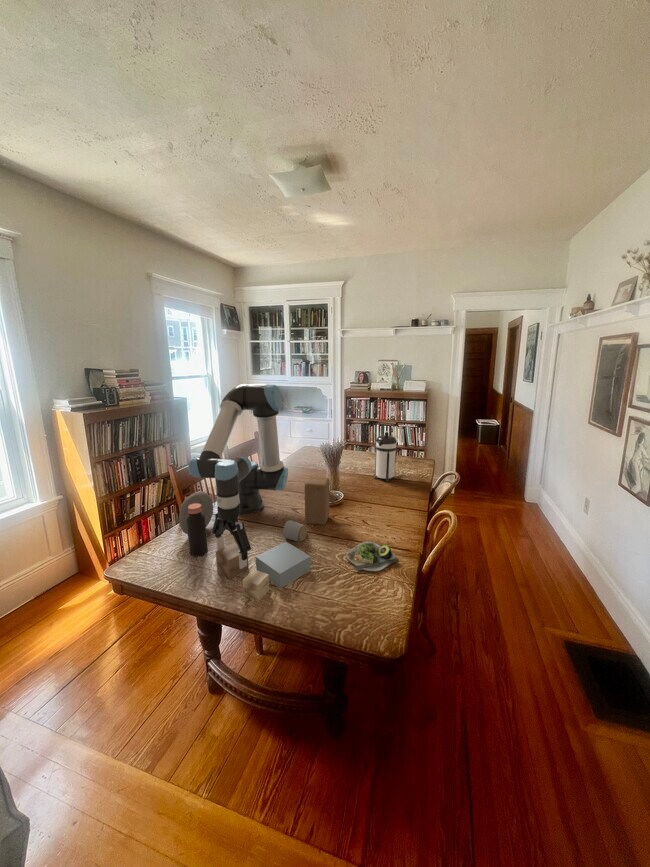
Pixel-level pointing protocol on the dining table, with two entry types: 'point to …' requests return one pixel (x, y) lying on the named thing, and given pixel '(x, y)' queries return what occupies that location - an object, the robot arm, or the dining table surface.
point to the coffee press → (385, 456)
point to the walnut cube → (229, 561)
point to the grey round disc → (192, 499)
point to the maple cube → (256, 585)
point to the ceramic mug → (294, 531)
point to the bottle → (196, 531)
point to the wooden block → (317, 500)
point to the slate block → (283, 564)
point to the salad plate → (371, 556)
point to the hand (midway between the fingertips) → (231, 559)
